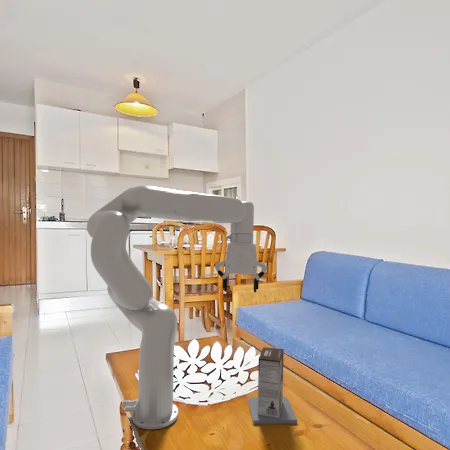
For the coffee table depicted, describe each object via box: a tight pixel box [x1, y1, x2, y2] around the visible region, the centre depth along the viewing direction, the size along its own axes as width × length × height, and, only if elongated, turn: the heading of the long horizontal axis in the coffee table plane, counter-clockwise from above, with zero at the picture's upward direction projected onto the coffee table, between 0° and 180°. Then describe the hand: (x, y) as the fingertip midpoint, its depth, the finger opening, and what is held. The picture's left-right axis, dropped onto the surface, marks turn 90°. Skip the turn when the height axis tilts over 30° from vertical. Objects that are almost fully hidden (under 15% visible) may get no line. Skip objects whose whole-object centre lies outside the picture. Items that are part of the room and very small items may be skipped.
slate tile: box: [247, 396, 298, 425], centre depth 97 cm, size 12×12×1 cm
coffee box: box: [257, 346, 285, 418], centre depth 96 cm, size 9×6×16 cm
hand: (240, 291), depth 110 cm, fingers open, 9 cm apart
